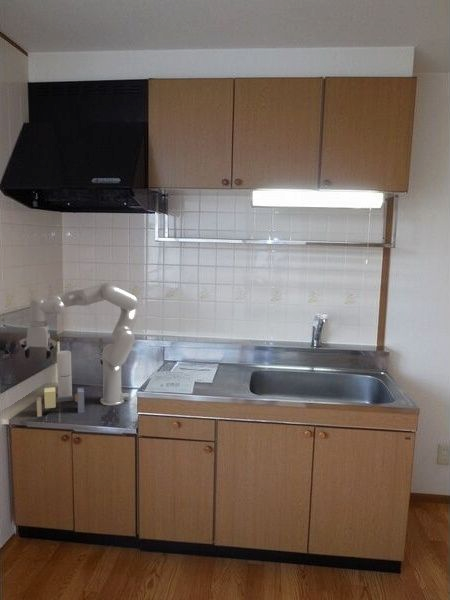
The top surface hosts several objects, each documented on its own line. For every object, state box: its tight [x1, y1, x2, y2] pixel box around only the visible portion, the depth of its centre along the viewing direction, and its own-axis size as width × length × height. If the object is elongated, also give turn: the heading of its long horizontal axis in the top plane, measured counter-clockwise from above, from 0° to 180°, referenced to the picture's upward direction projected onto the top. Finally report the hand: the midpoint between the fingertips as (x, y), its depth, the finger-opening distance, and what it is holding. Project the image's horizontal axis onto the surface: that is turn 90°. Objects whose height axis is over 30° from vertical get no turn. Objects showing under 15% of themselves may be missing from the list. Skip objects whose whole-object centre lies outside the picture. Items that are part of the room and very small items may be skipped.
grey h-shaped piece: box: [36, 387, 85, 418], centre depth 224 cm, size 22×6×11 cm, turn 110°
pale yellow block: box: [43, 386, 57, 409], centre depth 222 cm, size 5×6×8 cm
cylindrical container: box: [56, 350, 73, 397], centre depth 244 cm, size 7×7×25 cm
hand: (37, 358), depth 219 cm, fingers open, 9 cm apart
